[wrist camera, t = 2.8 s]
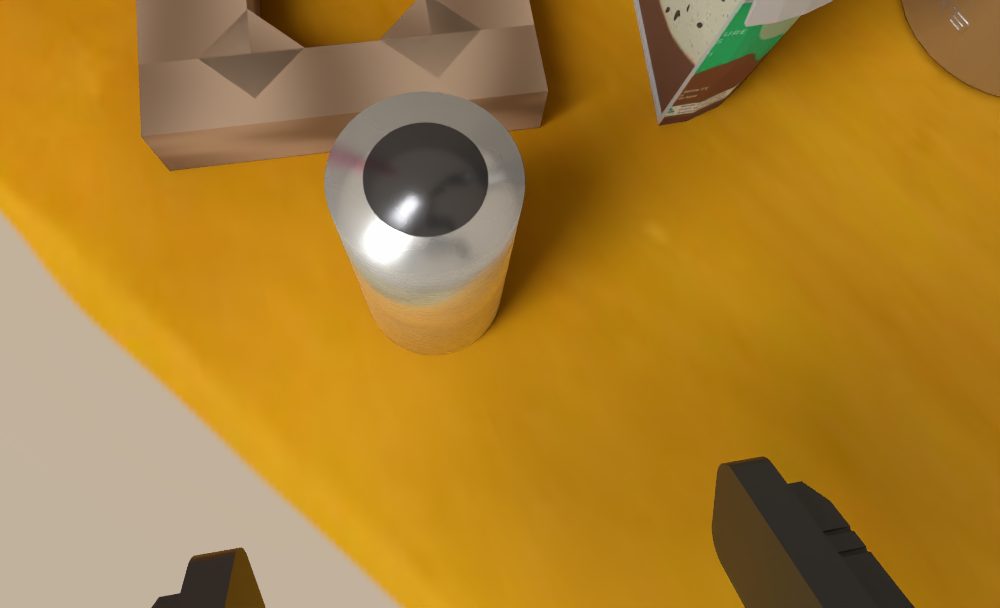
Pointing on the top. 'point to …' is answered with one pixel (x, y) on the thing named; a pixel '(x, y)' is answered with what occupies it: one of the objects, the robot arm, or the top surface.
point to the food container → (708, 47)
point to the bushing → (427, 215)
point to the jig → (319, 75)
